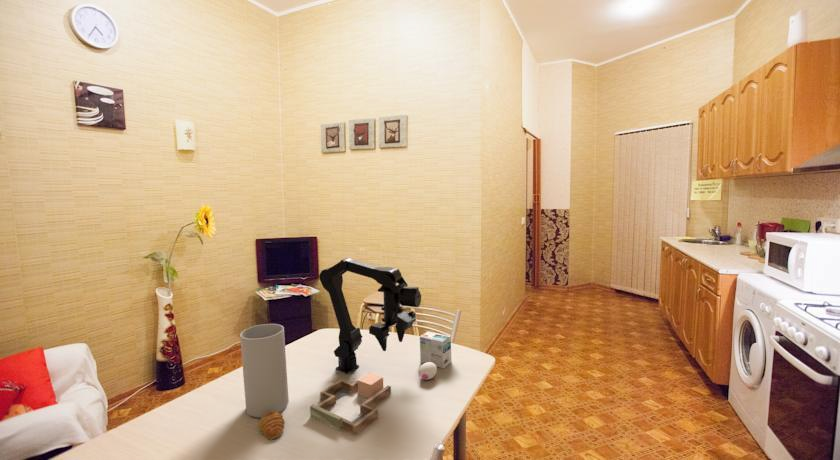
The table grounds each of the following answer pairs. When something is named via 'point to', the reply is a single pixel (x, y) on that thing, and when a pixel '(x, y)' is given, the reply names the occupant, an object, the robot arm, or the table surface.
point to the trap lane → (338, 422)
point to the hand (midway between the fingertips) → (392, 346)
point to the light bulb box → (435, 349)
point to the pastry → (271, 425)
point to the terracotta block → (370, 385)
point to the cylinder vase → (264, 369)
